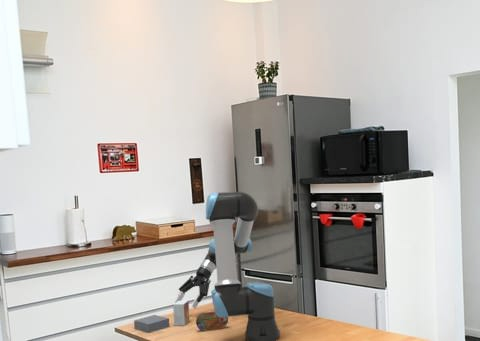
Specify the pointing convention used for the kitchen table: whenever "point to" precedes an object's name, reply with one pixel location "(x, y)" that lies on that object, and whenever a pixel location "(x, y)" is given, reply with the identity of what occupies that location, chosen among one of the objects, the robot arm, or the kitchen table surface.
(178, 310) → the white upright block
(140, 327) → the block
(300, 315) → the kitchen table surface
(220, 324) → the tin
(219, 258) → the robot arm
